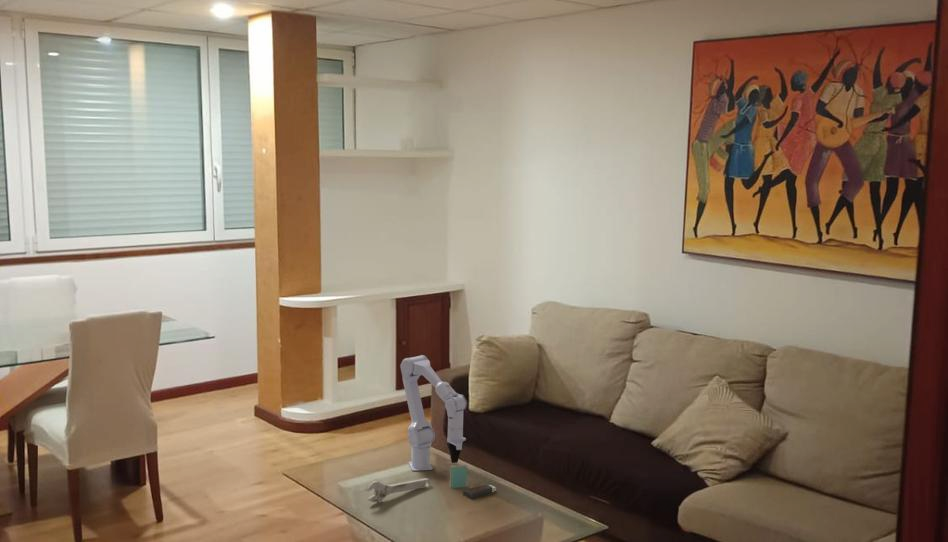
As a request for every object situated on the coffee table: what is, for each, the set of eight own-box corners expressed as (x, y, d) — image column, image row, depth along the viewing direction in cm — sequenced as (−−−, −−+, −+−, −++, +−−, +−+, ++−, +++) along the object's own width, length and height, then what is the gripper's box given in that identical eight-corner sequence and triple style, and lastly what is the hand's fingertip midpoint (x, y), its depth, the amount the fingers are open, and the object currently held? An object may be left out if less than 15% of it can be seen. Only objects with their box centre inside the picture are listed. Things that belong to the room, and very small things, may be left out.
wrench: (429, 493, 303) (366, 506, 282) (426, 492, 305) (363, 504, 283) (432, 472, 303) (369, 483, 281) (428, 471, 304) (365, 481, 283)
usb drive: (463, 496, 295) (463, 488, 295) (488, 489, 303) (488, 481, 302) (472, 501, 291) (472, 493, 291) (497, 493, 299) (497, 486, 298)
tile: (449, 486, 303) (450, 465, 302) (465, 485, 305) (465, 464, 304) (450, 487, 302) (451, 467, 301) (466, 486, 303) (466, 466, 302)
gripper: (470, 432, 301) (469, 468, 303) (461, 421, 315) (460, 455, 317) (451, 433, 300) (450, 469, 301) (443, 422, 314) (442, 456, 315)
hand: (454, 462), depth 309 cm, fingers closed
